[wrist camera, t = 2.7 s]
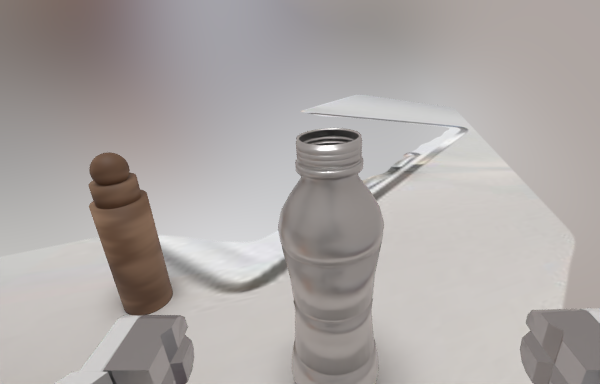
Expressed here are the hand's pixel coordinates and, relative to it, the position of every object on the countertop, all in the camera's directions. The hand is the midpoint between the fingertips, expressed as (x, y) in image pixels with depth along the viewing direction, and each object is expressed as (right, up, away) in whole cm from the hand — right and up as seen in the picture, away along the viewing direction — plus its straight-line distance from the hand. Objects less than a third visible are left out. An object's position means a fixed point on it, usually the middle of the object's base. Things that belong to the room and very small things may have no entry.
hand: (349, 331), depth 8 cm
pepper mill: (-18, -8, +29) cm, 35 cm away
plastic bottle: (+2, -12, +19) cm, 22 cm away
